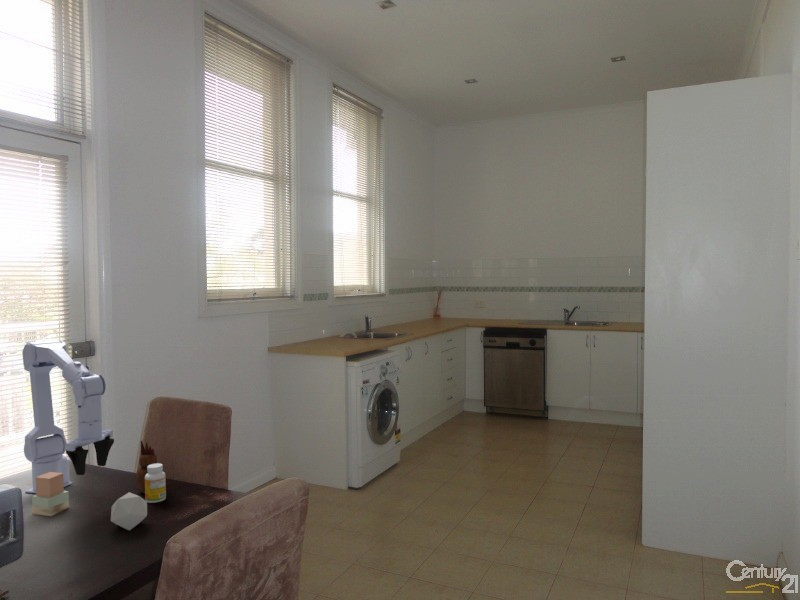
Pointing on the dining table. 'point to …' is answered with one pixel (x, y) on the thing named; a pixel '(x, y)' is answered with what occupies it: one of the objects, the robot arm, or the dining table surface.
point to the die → (129, 511)
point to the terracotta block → (49, 484)
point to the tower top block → (50, 500)
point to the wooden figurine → (144, 465)
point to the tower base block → (50, 509)
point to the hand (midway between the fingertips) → (91, 470)
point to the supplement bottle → (155, 483)
